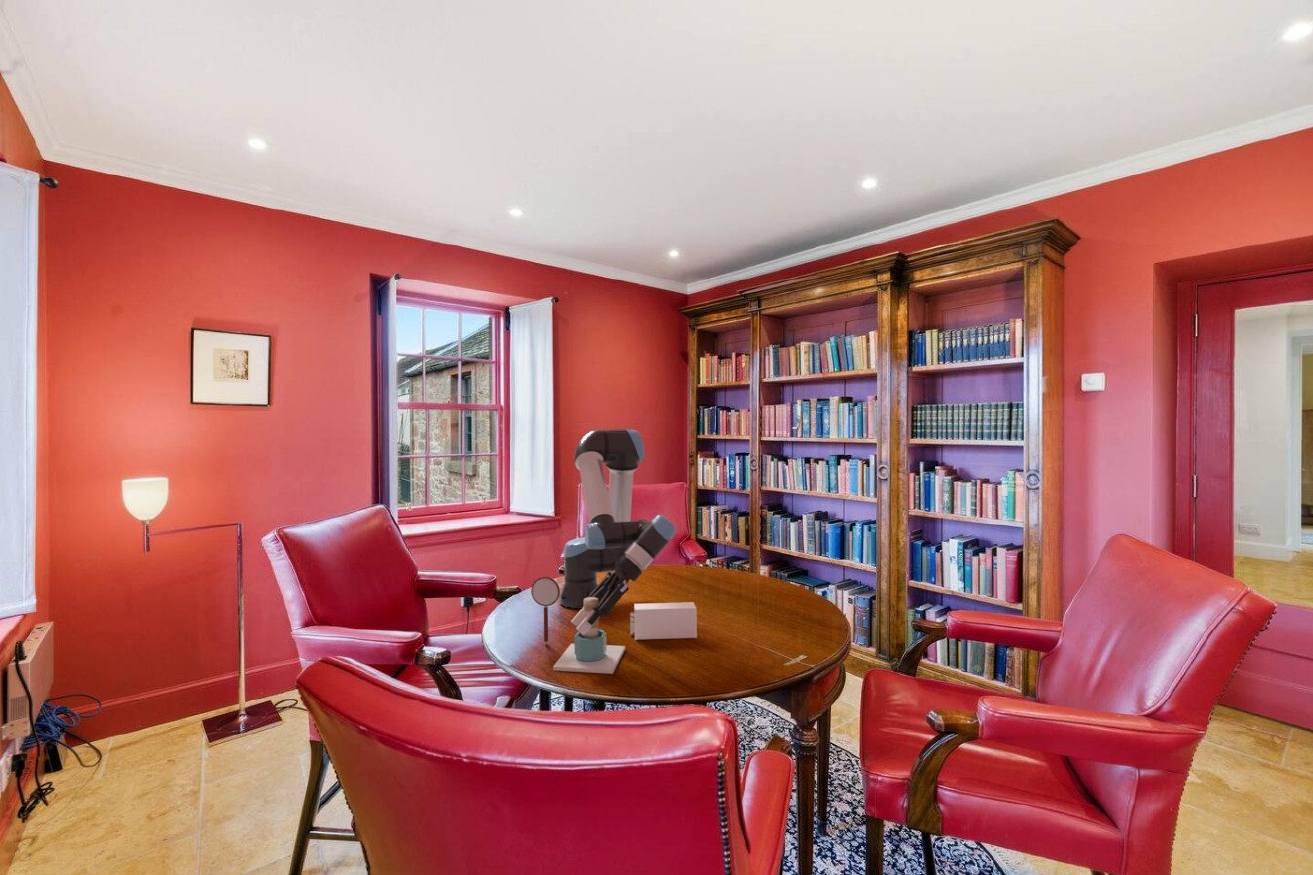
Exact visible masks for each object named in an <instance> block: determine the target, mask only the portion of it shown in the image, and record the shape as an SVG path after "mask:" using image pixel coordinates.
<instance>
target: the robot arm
mask: <svg viewBox="0 0 1313 875" xmlns="http://www.w3.org/2000/svg"><path fill="white" fill-rule="evenodd" d="M574 450H575V452H574V463H575V468H576V469H577V470H579V474H580V479H581V484H582V489H583V494H584V499H585V504H586V511H587V514H588V520H589V523H587V524H586V525H585V527H584V536H583V537H577V538H574V539H571V540H569V541H567V542H566V543H565V544H564V551H563V552H564V553H563V557H564V561H563V562H564V584H563V586H562V590H561V592H560V595H559V604H562V605H563V606H566V607H571V608H570V609H573V608H582V609H580V610H579V611H578V613H576V615H575V616H574V617H573V619H571V620H570V622H571V624H573V625H574V626H575V627H576V628H575V630H577V632H578V631H579V632H580V633H581V634H582V635H585V634H586V633H587V631H588V630H589V629H590V628H591V627H592V626H593V624H594V623H595V622H596V621H597V620H598V621H599V619H600V618H601V617H607V615H608V614H609V613H610V611H612V609H613V608H614V607H615V606H616V605H617V603H618V602H619V601H620V599H621V598H622V597H623V595H625V594H626V593H627V592H628V591H629V590H630V587H628V586H627V585H628V583H629V582H630V580H631V581H633V582H636V581H637V580H638V578H640V576H642V574H643V571H644V570H646V569H647V568H648V567H649V566H651V564H652V562H653V561H654V559H655V558H656V557H657V556H658V555H659V554H660V553H661V551H662V550H664V548H665V547H666V545H668V543H670V541H671V540H672V539H673V537H674V536H675V535H676V533H677V528H676V526H675V525H674V524H673V523H672V521H671V520H669V519H668V518H666V517H665V516H664V515H662V514H657V515H656V516H655V517H653V519H651V521H650V520H648V519H639V520H635V521H633V520H631V518H632V516H631V515H632V503H633V502H632V501H633V483H634V472H635V471H637V469H638V468H639V463H642V462H643V461H644V458H645V447H644V441H643V438H642V435H641V433H640V432H639V431H638V430H636V429H628V428H624V429H623V428H621V429H595V430H592V431H589V432H588V433H586V434H585V435H584V436H583V437H582V438H580V441H578V443H577V445H576V448H575V449H574ZM604 464H605V468H607V470H608V471H609V476H608V478H609V479H608V480H609V481H608V486H607V482H606V477H605V473H604V469H603V465H604ZM600 573H601V574H602V573H606V574H605V576H604V578H603V579H601V581H600V582H599V583H598V581H597V575H598V574H600ZM588 597H595V598H598V605H597V607H596V608H594V607H593V608H592V609H593V610H592V611H591V612H590V613H589V614H588V615H587V617H586V618H585V619H584V599H585V598H588ZM563 606H562V607H563ZM566 607H565V608H566Z"/></svg>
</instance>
